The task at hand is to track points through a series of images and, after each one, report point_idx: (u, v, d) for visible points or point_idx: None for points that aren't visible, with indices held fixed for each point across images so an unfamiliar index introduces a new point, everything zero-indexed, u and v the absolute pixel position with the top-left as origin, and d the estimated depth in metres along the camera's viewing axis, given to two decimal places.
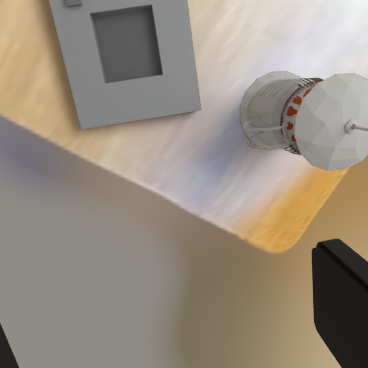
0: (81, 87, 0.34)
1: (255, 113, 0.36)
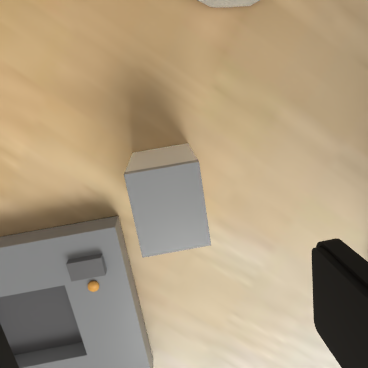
0: None
1: None
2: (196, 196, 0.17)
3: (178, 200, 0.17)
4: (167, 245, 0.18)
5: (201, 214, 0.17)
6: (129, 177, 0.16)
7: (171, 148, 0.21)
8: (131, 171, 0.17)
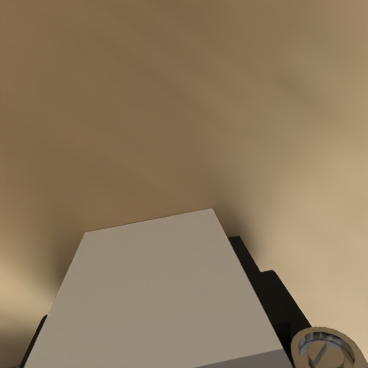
0: None
1: None
2: None
3: None
4: None
5: None
6: None
7: (175, 229, 0.09)
8: None
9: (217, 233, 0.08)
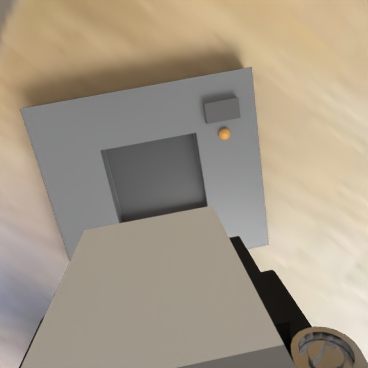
0: (90, 114, 0.21)
1: None
2: None
3: None
4: None
5: None
6: None
7: (175, 227, 0.09)
8: None
9: (217, 230, 0.08)
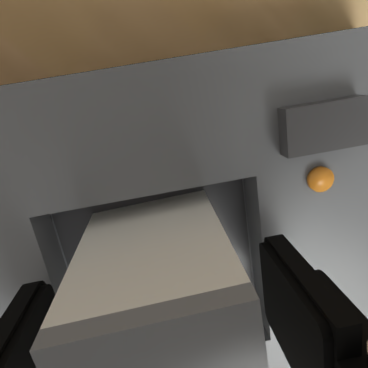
0: None
1: None
2: None
3: None
4: None
5: None
6: (48, 357, 0.05)
7: (171, 207, 0.10)
8: (59, 326, 0.06)
9: (206, 208, 0.09)
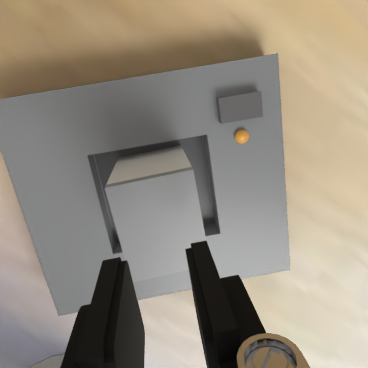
0: (74, 109, 0.17)
1: None
2: (191, 210, 0.14)
3: (170, 215, 0.14)
4: (160, 267, 0.15)
5: (198, 230, 0.15)
6: (111, 191, 0.14)
7: (161, 152, 0.18)
8: (113, 183, 0.14)
9: (180, 151, 0.18)
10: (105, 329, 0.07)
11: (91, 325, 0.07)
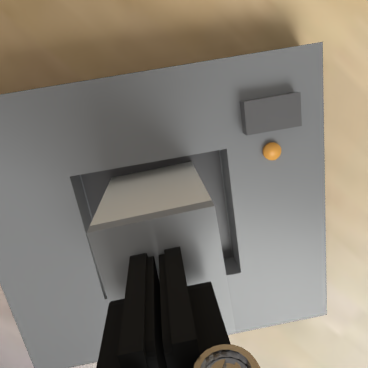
0: (51, 116, 0.13)
1: None
2: (211, 261, 0.10)
3: None
4: None
5: (220, 288, 0.10)
6: (96, 237, 0.10)
7: (167, 171, 0.14)
8: (100, 224, 0.10)
9: (191, 171, 0.14)
10: (143, 323, 0.07)
11: (129, 319, 0.07)
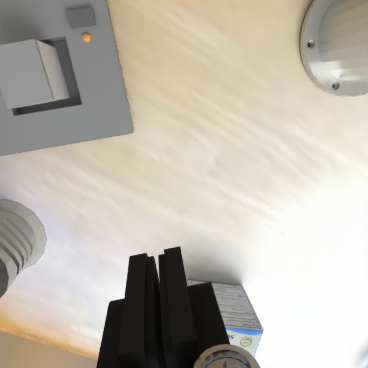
0: None
1: None
2: (36, 63, 0.26)
3: (25, 66, 0.26)
4: (23, 100, 0.27)
5: (42, 77, 0.27)
6: None
7: None
8: None
9: None
10: (143, 323, 0.07)
11: (129, 319, 0.07)
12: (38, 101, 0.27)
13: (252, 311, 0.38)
